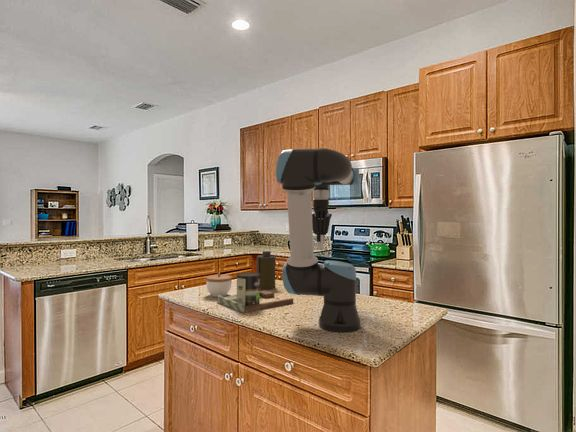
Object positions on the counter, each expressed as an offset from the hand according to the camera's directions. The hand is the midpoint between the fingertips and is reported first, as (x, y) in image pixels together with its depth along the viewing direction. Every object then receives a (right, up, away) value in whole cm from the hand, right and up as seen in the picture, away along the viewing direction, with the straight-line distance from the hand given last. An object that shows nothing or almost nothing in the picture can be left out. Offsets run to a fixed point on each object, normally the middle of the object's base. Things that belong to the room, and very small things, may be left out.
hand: (320, 248), depth 173 cm
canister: (-28, -24, +26) cm, 45 cm away
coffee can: (-33, -24, -13) cm, 43 cm away
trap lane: (-30, -24, -8) cm, 39 cm away
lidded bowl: (-50, -24, +7) cm, 56 cm away
